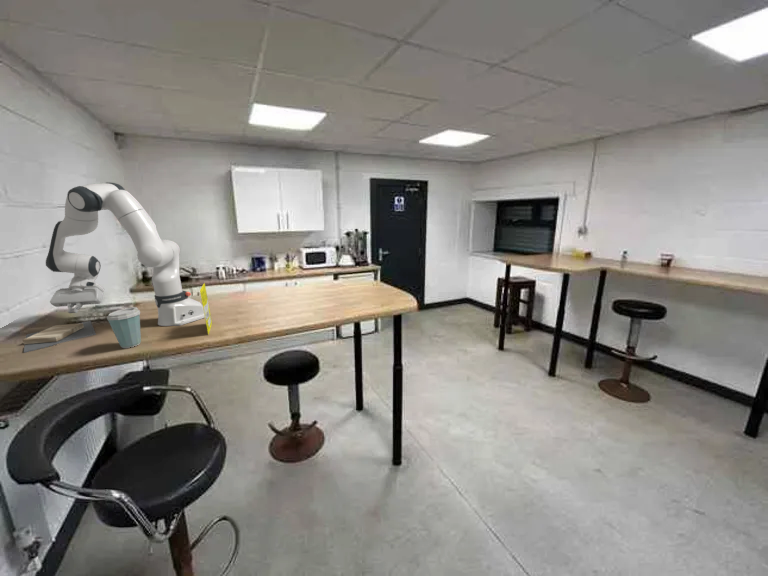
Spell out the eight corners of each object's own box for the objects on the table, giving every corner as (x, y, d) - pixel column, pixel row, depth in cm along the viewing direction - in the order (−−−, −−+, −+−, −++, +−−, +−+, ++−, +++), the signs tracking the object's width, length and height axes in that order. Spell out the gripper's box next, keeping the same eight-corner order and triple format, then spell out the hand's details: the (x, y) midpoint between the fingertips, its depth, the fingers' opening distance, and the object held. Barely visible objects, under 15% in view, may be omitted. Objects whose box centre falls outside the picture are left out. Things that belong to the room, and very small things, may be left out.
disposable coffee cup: (110, 352, 126) (99, 316, 122) (121, 341, 136) (112, 308, 132) (142, 348, 129) (133, 312, 125) (151, 337, 139) (143, 304, 135)
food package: (210, 323, 154) (203, 282, 148) (213, 323, 154) (206, 282, 149) (207, 335, 140) (198, 290, 135) (209, 334, 140) (201, 290, 135)
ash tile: (53, 325, 149) (22, 339, 134) (82, 323, 151) (55, 337, 136) (55, 330, 150) (24, 344, 135) (84, 327, 152) (57, 342, 137)
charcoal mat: (90, 321, 161) (90, 320, 161) (96, 335, 144) (96, 334, 143) (26, 335, 146) (26, 334, 146) (24, 352, 129) (23, 351, 128)
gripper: (52, 285, 156) (41, 311, 149) (100, 282, 159) (91, 307, 152) (62, 292, 161) (52, 317, 154) (108, 289, 164) (100, 313, 158)
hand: (72, 312), depth 153 cm, fingers closed
